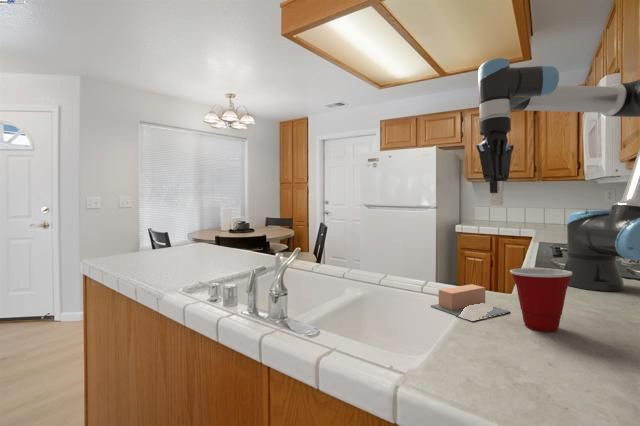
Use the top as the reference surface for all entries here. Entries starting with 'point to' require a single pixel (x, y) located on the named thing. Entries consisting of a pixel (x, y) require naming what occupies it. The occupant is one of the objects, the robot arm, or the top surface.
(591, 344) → the top surface
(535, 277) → the plastic cup
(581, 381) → the top surface
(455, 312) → the slate mat
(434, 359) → the top surface
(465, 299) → the terracotta block
